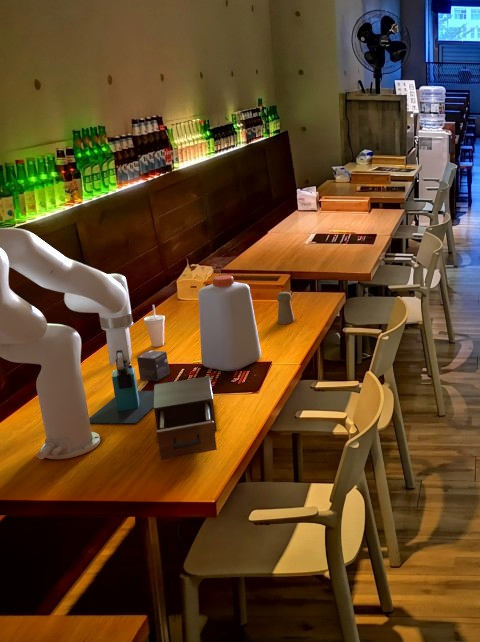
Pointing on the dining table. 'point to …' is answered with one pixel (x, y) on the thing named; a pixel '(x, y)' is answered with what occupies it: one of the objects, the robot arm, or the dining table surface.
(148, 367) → the box
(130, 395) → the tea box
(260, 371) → the dining table surface
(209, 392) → the cabinet
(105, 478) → the dining table surface
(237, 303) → the plastic bottle
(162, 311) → the dining table surface
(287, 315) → the pepper shaker
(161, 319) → the smoothie
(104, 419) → the mat
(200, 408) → the drawer
